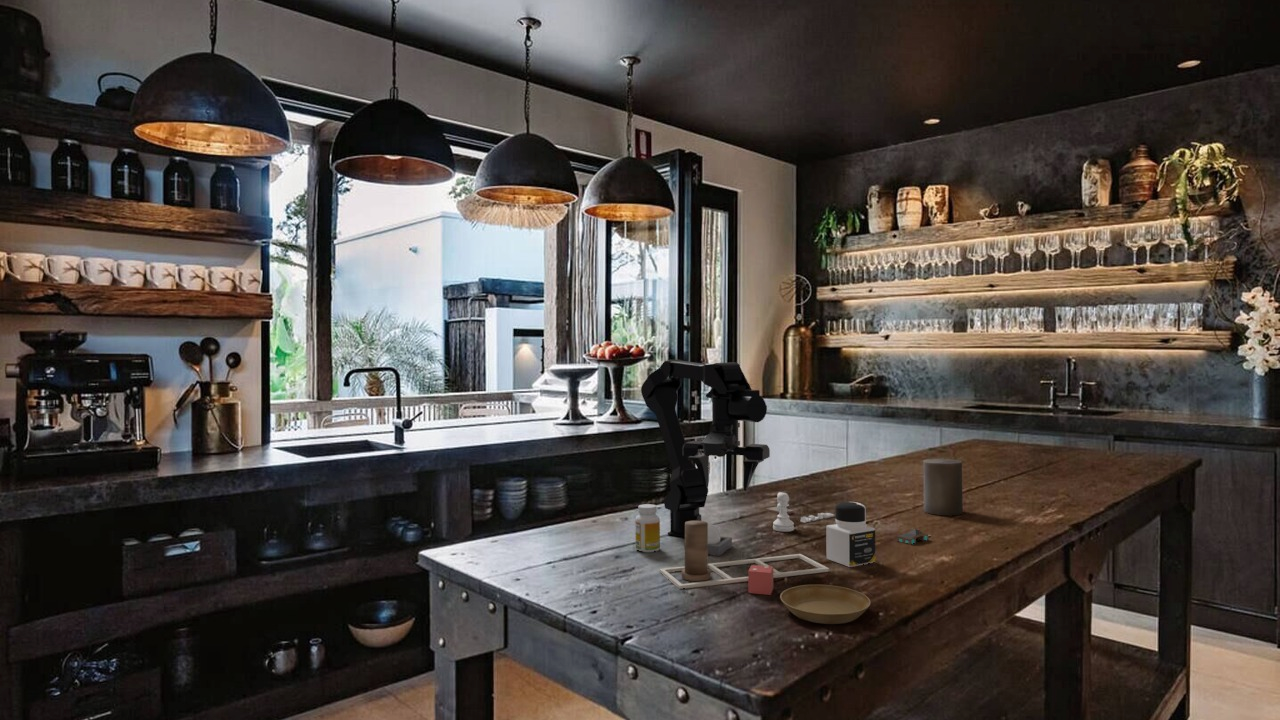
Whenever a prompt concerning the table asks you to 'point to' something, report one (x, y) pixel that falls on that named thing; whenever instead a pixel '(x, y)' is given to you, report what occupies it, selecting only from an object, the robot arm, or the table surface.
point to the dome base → (720, 546)
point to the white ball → (713, 534)
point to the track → (741, 579)
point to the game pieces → (905, 538)
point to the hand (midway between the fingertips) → (725, 489)
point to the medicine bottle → (850, 536)
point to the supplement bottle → (647, 529)
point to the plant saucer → (825, 603)
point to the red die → (760, 579)
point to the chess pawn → (783, 515)
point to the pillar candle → (943, 486)
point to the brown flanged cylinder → (696, 551)
